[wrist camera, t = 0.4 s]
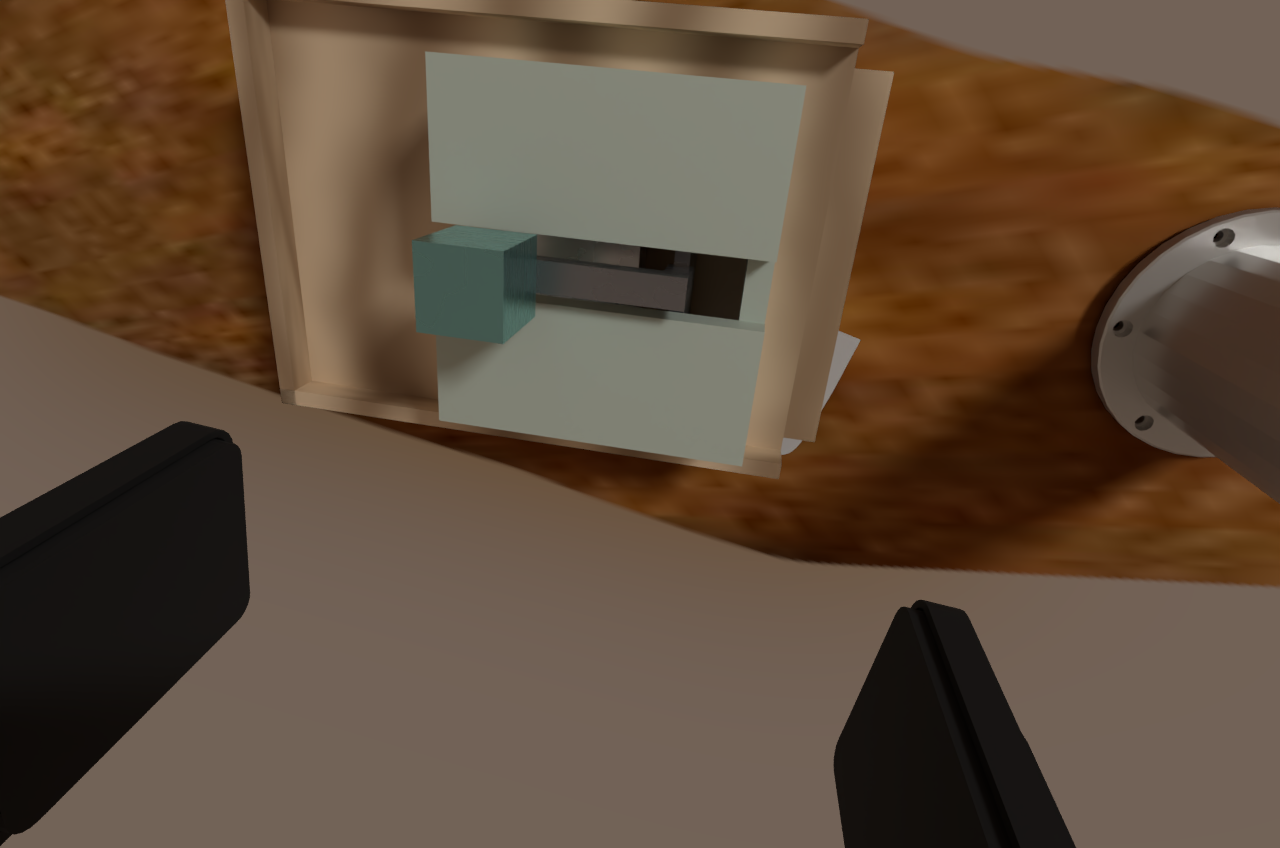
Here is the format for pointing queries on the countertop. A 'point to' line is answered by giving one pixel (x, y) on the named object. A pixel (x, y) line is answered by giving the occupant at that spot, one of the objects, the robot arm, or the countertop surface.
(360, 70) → the shallow beige tray
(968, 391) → the countertop surface
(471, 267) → the bar
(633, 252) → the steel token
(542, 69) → the pale green panels
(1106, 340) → the robot arm
